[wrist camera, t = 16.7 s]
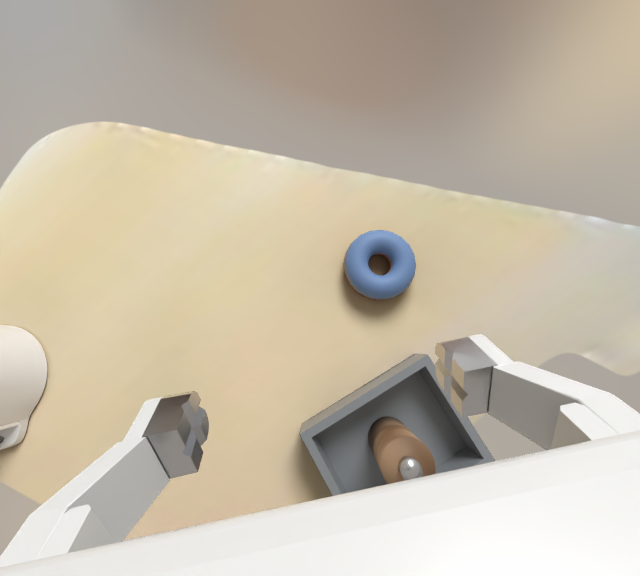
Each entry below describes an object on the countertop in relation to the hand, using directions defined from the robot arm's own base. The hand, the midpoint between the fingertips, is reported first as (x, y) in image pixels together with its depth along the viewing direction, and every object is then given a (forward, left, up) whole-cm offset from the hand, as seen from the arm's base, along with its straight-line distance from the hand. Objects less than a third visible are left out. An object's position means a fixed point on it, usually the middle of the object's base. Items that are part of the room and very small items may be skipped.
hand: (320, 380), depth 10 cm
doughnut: (+14, +6, -33) cm, 36 cm away
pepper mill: (+2, -13, -31) cm, 34 cm away
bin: (+3, -14, -32) cm, 35 cm away
